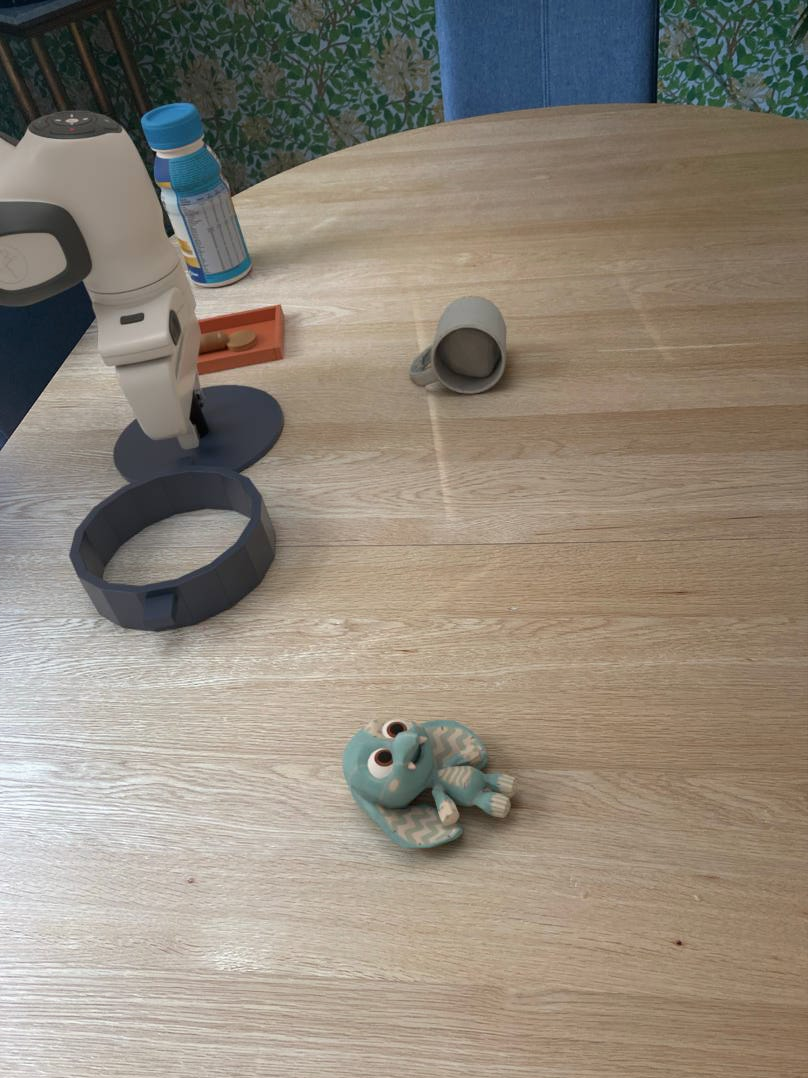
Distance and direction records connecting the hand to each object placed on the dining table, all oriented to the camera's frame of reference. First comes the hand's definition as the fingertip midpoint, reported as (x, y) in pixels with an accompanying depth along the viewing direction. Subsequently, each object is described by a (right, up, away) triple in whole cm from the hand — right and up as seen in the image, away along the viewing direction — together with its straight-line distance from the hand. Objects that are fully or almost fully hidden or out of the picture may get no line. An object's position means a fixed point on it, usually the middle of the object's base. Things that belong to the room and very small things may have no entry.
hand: (194, 424), depth 104 cm
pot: (+3, -15, -13) cm, 20 cm away
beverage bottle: (-4, +26, +29) cm, 39 cm away
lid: (0, -1, +1) cm, 2 cm away
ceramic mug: (+27, +6, +3) cm, 28 cm away
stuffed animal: (+26, -33, -34) cm, 54 cm away
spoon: (-2, +12, +14) cm, 18 cm away
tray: (-2, +11, +14) cm, 18 cm away
